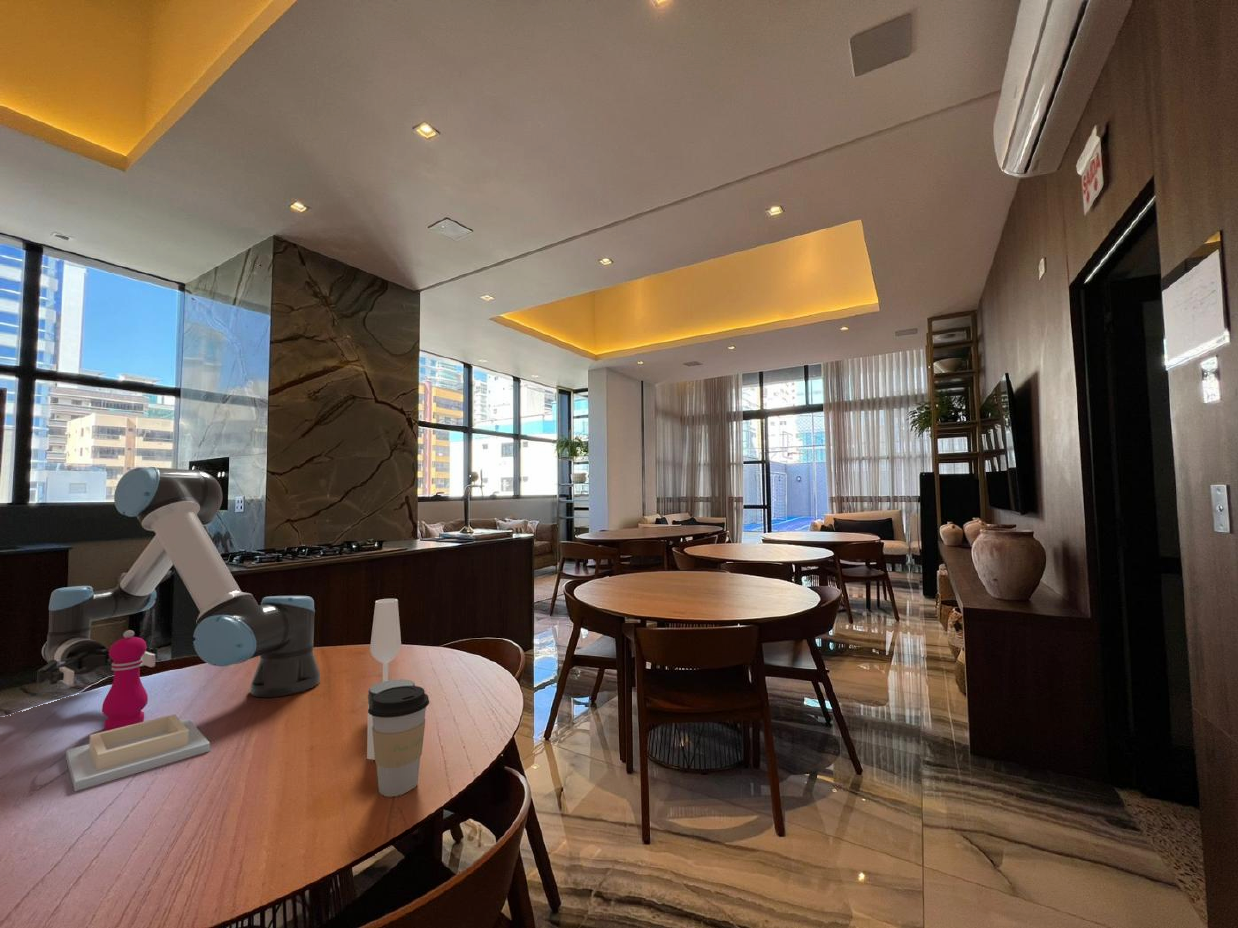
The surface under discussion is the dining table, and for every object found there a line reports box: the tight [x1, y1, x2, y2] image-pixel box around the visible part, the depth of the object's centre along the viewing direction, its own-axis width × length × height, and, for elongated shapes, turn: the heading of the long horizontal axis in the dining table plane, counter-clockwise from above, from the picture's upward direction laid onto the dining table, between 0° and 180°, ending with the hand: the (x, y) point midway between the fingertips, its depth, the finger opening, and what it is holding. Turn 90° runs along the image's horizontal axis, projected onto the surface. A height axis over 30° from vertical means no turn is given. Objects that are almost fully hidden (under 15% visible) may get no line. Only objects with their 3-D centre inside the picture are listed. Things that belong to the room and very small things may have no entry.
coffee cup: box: [367, 685, 430, 798], centre depth 88 cm, size 9×9×15 cm
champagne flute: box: [369, 598, 402, 682], centre depth 123 cm, size 7×7×24 cm
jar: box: [366, 678, 416, 759], centre depth 100 cm, size 9×8×12 cm
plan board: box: [65, 714, 211, 792], centre depth 100 cm, size 18×18×4 cm
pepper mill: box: [101, 629, 149, 731], centre depth 114 cm, size 7×7×20 cm
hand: (114, 669), depth 117 cm, fingers open, 13 cm apart
